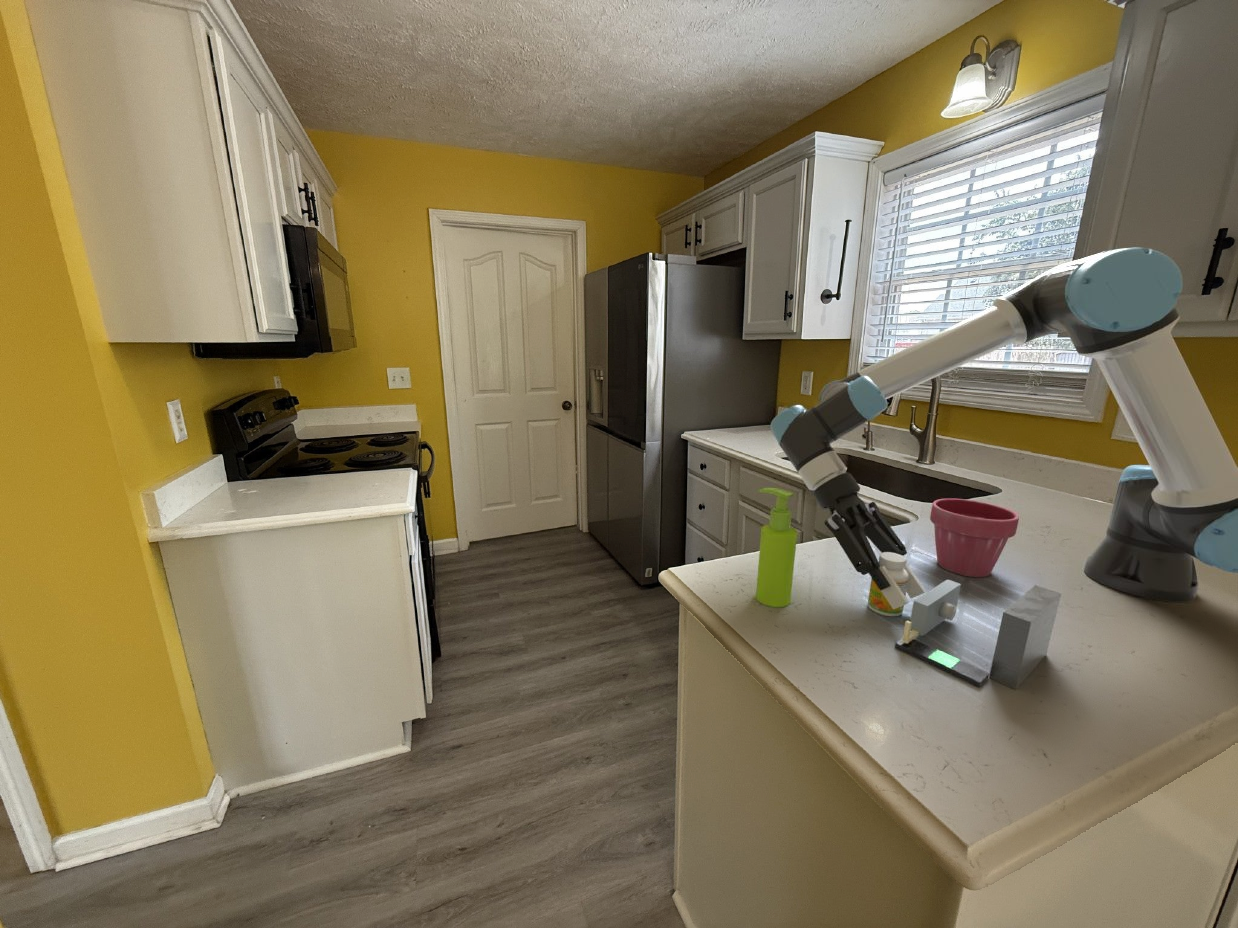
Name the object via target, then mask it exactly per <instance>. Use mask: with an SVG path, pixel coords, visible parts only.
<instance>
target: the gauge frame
mask: <svg viewBox="0 0 1238 928" xmlns="http://www.w3.org/2000/svg"><path fill="white" fill-rule="evenodd" d="M1061 596H1062V593H1061V592H1058V591H1055V590H1052V589H1048V588H1046V587H1043V586H1039V585H1036V584H1035V585H1033V586H1032V588H1030V589H1029V590H1028V591H1027V592H1026V593H1024V594H1023V595H1022V596H1021V597H1019V598H1018V599H1017V600H1016V601H1015V602H1014V603H1012V604H1011V605H1010V606H1009V607H1008V608H1006V609H1005V610H1004V611H1003V613H1002V617H1001V621H1000V626H999V631H998V635H997V639H996V645H995V648H994V654H993V657H992V663H991V667H990V671H989V672H987V671H985V670H983V669H980V668H978V667H976V666H974V665H972V664H970V663H967V662H965V661H963V660H961V659H959V658H957V657H955V656H953V655H951V654H950V653H947V652H944V651H942V650H940V649H936V648H934V647H932V646H929V645H927V644H925V643H923V642H921V641H919V640H916V639H915V638H914V639H913V640H912V641H910V642H909V643H908V644H907V643H905V642H902V638H901V639H898V640H897V641H896V642H895V643H894V648H895V649H897V650H899V651H901V652H904V653H905V654H907V655H909V656H912V657H914V658H916V659H918V660H920V661H923V662H925V663H927V664H929V665H931V666H933V667H934V668H937V669H939V670H941V671H943V672H946V673H948V674H949V675H952V676H954V677H955V678H958V679H960V680H963V681H965V682H967V683H969V684H970V685H972V686H975V687H977V688H981V686H982V685H984V683H985V682H986V681H987V680H989V679H991V680H993V681H995V682H997V683H1000V684H1002V685H1004V686H1007V687H1009V688H1011V689H1014V690H1017V689H1018V688H1019V686H1020V685H1021V684H1022V683H1023V682H1024V680H1025V679H1027V678H1028V676H1029V675H1030V674H1031V673H1032V672H1033V671H1034V670H1035V668H1036V667H1037V666H1038V665H1039V664H1040V663H1041V662H1042V660H1044V658H1045V657H1046V656H1047V654H1048V649H1049V646H1050V645H1049V644H1050V641H1051V636H1052V633H1053V629H1054V624H1055V622H1056V621H1055V620H1056V618H1057V617H1056V616H1057V612H1058V608H1059V604H1060V601H1061Z"/></svg>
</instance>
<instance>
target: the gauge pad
mask: <svg viewBox="0 0 1238 928" xmlns="http://www.w3.org/2000/svg"><path fill="white" fill-rule="evenodd" d="M961 586H962V583H959V582H956V581H953V580H951V579H946V580H944V581H943V582H940V583H939V584H937V585H935V586H934V587H933V588H931V589H930V590H928V591H927V592H925V593H923V594H921V595H919V597H917V598H916V599H914V600H913V603H912V609H911V615H910V621H909V620H906V621H905V623H904V629H903V635H902V637H901V639H902V642H905V643H907V644H908V643H909V642H910V641H912V640H913V639H914V640H915V638H918V636H919V635H920V636H921V637H922V636H924V635H926V634H927V633H929V632H930V631H931V630H933V629H934V628H936V627H937V626H939V625H940V624H941V623H943V622H944V621H945V620H948V621H950V622H951V621H953V619H955V616H956V613H957V607H958V602H959V597H960V596H959V595H960V591H961Z"/></svg>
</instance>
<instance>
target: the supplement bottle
mask: <svg viewBox="0 0 1238 928" xmlns="http://www.w3.org/2000/svg"><path fill="white" fill-rule="evenodd" d="M878 562H879V564H880V568H881V567H883V566H885V567H886V569H887V570H888V572H889V573H890V574H891V576H892V577H893V579H894V580H895V582H896V583H897V585H898V586H899V588H900V589H901V591H902V592H903V594H904V595H905V597H906V594H907V592H906V590H907V584H908V577H909V576H908V573H907V571H906V570H905V569H904V568H905V566H906V563H907V558H906V557H905V555H904V556H902V555H900V554H896V553H891V552H883V553H880V554H879V557H878ZM867 606H868V607H869V610H872V611H873V612H874V613H876V614H879V615H882V616H884V617H885V616H886V617H898V616H900V615H902V614H903V612H904V607H905V605H903V606H901V607H898V608H896V609H893V608H892V607H891V605H890V604H889V602H888V601H887V599H886V598H885V596H884V595H883V593H882V592H881V590H880V589H879V588H878V587H877V585H876V584H875V582H874V581H873V579H872V578H871V580H870V587H869V592H868V599H867Z"/></svg>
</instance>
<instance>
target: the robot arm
mask: <svg viewBox="0 0 1238 928" xmlns="http://www.w3.org/2000/svg"><path fill="white" fill-rule="evenodd" d="M1183 282H1184V281H1183V276H1182V272H1181V270H1180V268H1179V266H1178V264H1177V263H1176V262H1175V261H1174V260H1173V259H1172V258H1171V257H1170V256H1169V255H1166V254H1165V253H1162V252H1160V251H1159V250H1155V249H1152V248H1147V247H1127V248H1126V247H1123V248H1115V249H1114V248H1113V249H1109V250H1104V251H1102V252H1099V253H1096V254H1092V255H1089V256H1086V257H1082V258H1080V259H1074V260H1071V261H1067V262H1064V263H1062V264H1059V265H1056V266H1055V267H1053V268H1051V269H1048V270H1046V271H1044V272H1043V273H1041V274H1039V275H1038V276H1036V277H1034V278H1032V279H1031V280H1029V281H1027V282H1026V283H1024V284H1022V285H1020V286H1019V287H1017V288H1015V289H1013V290H1011V291H1009V292H1007V293H1006V294H1003V295H1001V296H1000V297H997V298H995V299H994V301H993V303H992V305H991V307H990V308H987V309H985V310H983V311H980V312H979V313H977V314H974V315H973V316H971V317H970V316H969V318H967V319H964V320H962V321H960V322H958V323H956V324H954V325H952V326H950V327H948V328H945V329H944V330H941V331H939V332H937V333H935V334H933V335H931V336H929V337H927V338H925V339H922V340H921V341H919V342H916V343H915V344H912V345H910V346H909V347H906V348H904V349H901V350H900V351H897V352H896V353H893V354H892V355H891V354H890V356H887V357H885V358H884V359H882V360H879V361H877V362H874V363H873V364H871V365H869V366H867V367H865V368H862V369H860V370H858V371H857V372H855V373H852V374H850V375H848V376H846V377H844V378H842V379H838V380H833V381H831V382H829V383H827V384H826V385H824V387H823V388H822V390H821V391H820V394H819V397H818V400H819V401H818V404H816V405H814V406H813V407H811V408H809V409H807V408H805V407H804V406H803V405H801V404H794V405H792V406H790V407H789V408H785V409H784V410H782V411H781V412H779V413H778V414H777V415H775V417H774V418H773V419H772V421H771V422H770V427H769V428H770V430H771V432H772V435H773V436H774V438H775V440H776V441H777V443H778V446H779V447H780V449H782V451H783V453H784V454H785V455H786V457H787V458H788V460H789V461H790V463H791V465H792V466H793V467H794V469H795V470H796V471H797V473H798V474H799V477H801V478H802V481H803V482H804V484H805V485H806V487H807V488H808V490H810V491H813V492H812V496H813V498H814V499H815V501H816V502H817V504H818V506H819V507H820V509H822V510H826V511H827V510H829V514H830V517H829V518H828V519H826V520H824V521H823V522H824V525H825V527H827V528H828V530H829V531H830V532H831V533H832V534H833V536H834V537H835V539H836V541H837V542H838V544H839V546H840V547H841V548H842V550H843V552H844V553H845V555H846V557H847V558H848V559H849V562H850V563H851V565H852V566H853V567H854V569H855V571H856V572H857V573H860V574H861V575H863V576H865V575H867V574H868V575H869V576H870V577H871V579H873V581H874V582H875V584H876V585H877V587H878V588H879V589H880V590H881V592H882V593H883V595H884V596H885V598H886V599H887V601H888V602H889V604H890V605H891V607H892V608H893V609H896V608H898V607H901V606H903V605H904V606H906V605H908V604H909V603H910V601H909V599H908V598H907V597H906V596H905V595H904V594H903V592H902V591H901V589H900V588H899V586H898V585H897V583H896V582H895V580H894V579H893V577H892V576H891V574H890V573H889V572H888V570H887V569H886V567H885V566H883V567H881V568H880V564H879V559H878V558H877V556H876V554H875V551H874V550H873V548H872V545H871V544H870V542H871V543H872V544H873V545H874V546H875V547H876V548H877V549H878V551H879V552H881V553H883V552H891V553H896V554H900V555H902V556H904V557H905V555H907V554H908V552H907V550H906V549H907V548H906V546H905V544H904V543H903V541H902V540H901V539H900V537H898V535H897V533H896V532H895V531H894V529H893V528H892V527H891V526H890V524H889V523H888V521H887V519H885V517H884V515H883V514H882V513H881V511H880V509H879V507H878V504H876V502H874V501H871V502H869V503H865V502H864V500H863V499H861V497H859V495H858V493H859V492H860V490H861V487H860V485H859V483H858V482H857V480H856V479H855V477H854V476H853V475H852V474H851V473H850V472H847V469H848V467H847V466H846V465H845V463H844V462H843V461H842V459H841V458H840V457H839V455H838V454H837V453H836V451H835V450H834V448H833V447H832V445H831V444H832V443H834V442H836V441H838V440H839V439H840V438H843V437H844V436H846V435H848V434H849V433H850V432H853V431H854V430H856V429H857V428H859V427H861V426H863V425H864V424H866V423H867V422H869V421H872V420H874V419H875V418H876V417H877V416H879V415H880V414H881V413H883V412H884V411H886V409H888V405H889V404H888V403H889V402H888V400H889V399H890V398H892V397H894V396H896V395H898V394H899V395H900V394H901V393H903V392H905V391H908V390H910V389H912V388H913V389H914V387H917V386H919V385H922V384H923V383H926V382H928V381H930V380H932V379H935V378H937V377H938V376H941V375H944V374H946V373H948V372H950V371H952V370H955V369H956V368H959V367H962V366H963V365H966V364H969V363H970V362H972V361H974V360H976V359H979V358H981V357H984V356H986V355H988V354H990V353H993V352H994V351H997V350H999V349H1001V348H1003V347H1006V346H1008V345H1017V346H1021V345H1024V344H1026V343H1028V342H1030V341H1034V340H1035V339H1038V338H1041V337H1045V336H1048V335H1049V336H1051V335H1053V334H1060V333H1067V335H1068V337H1069V339H1070V341H1071V343H1072V345H1073V346H1074V348H1075V350H1076V352H1077V354H1078V356H1083V357H1086V358H1092V359H1094V360H1095V361H1096V363H1097V365H1098V367H1099V369H1100V371H1101V373H1102V375H1103V377H1104V379H1105V381H1106V382H1107V384H1108V387H1109V388H1110V391H1111V392H1112V395H1113V396H1114V399H1115V401H1116V403H1117V404H1118V406H1119V408H1120V411H1121V412H1122V414H1123V416H1124V418H1125V420H1126V422H1127V425H1128V426H1129V427H1130V429H1131V431H1132V434H1133V435H1134V437H1135V440H1136V442H1137V443H1138V446H1139V447H1140V449H1141V450H1142V453H1143V455H1144V457H1145V458H1146V460H1147V463H1148V464H1146V465H1145V464H1131V465H1129V466H1127V467H1125V468H1124V469H1123V471H1122V473H1121V475H1120V477H1119V480H1118V482H1117V485H1118V486H1117V490H1116V493H1115V497H1114V501H1113V506H1112V509H1111V513H1110V517H1109V521H1108V524H1107V529H1106V533H1105V535H1104V538H1103V539H1102V540H1101V541H1100V542H1099V544H1098V545H1097V546H1096V547H1095V549H1094V550H1093V552H1092V553H1091V555H1090V556H1088V557H1087V559H1086V561H1085V564H1084V569H1083V570H1084V573H1085V574H1086V575H1087V576H1088V577H1089V578H1090V579H1092V580H1094V581H1095V582H1098V583H1099V584H1102V585H1104V586H1106V587H1109V588H1111V589H1114V590H1117V591H1120V592H1123V593H1127V594H1130V595H1134V596H1138V597H1142V598H1147V599H1150V600H1151V599H1152V600H1157V601H1163V602H1170V603H1187V602H1192V601H1194V600H1195V599H1196V596H1197V594H1198V591H1199V582H1198V576H1197V569H1196V565H1195V559H1194V558H1196V560H1198V561H1200V562H1201V563H1203V564H1205V565H1208V566H1210V567H1215V568H1217V569H1220V570H1222V571H1225V572H1228V573H1234V574H1238V466H1237V463H1236V462H1235V460H1234V458H1233V456H1232V454H1231V452H1230V449H1229V448H1228V446H1227V444H1226V442H1225V440H1224V438H1223V436H1222V434H1221V432H1220V430H1219V428H1218V426H1217V423H1216V422H1215V420H1214V418H1213V416H1212V413H1211V412H1210V410H1209V408H1208V405H1207V404H1206V402H1205V400H1204V397H1203V395H1202V394H1201V392H1200V390H1199V388H1198V385H1197V384H1196V382H1195V380H1194V377H1193V375H1192V374H1191V372H1190V370H1189V367H1188V365H1187V364H1186V362H1185V359H1184V357H1183V356H1182V353H1181V352H1180V350H1179V348H1178V346H1177V343H1176V341H1175V339H1174V338H1173V336H1172V330H1173V328H1174V327H1175V326H1176V324H1177V323H1178V321H1179V320H1180V314H1179V313H1178V311H1177V308H1176V307H1175V306H1176V305H1177V303H1178V297H1179V295H1180V294H1182V292H1183V285H1184V283H1183ZM881 553H880V554H881ZM904 569H905V570H906V571H907V573H908V576H909V577H908V584H907V590H906V594H907V595H908V596H909V598H910V599H914V598H916V597H918V596H919V597H920V596H922V595H923V594H925V593H927V592H928V591H927V590H926V588H925V587H924V586H923V584H922V582H921V581H920V580H919V578H918V577H917V576H916V574H915V573H914V571H913V570H912V569H911V567H910V565H909V563H908V562H906V566H905V568H904Z"/></svg>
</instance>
